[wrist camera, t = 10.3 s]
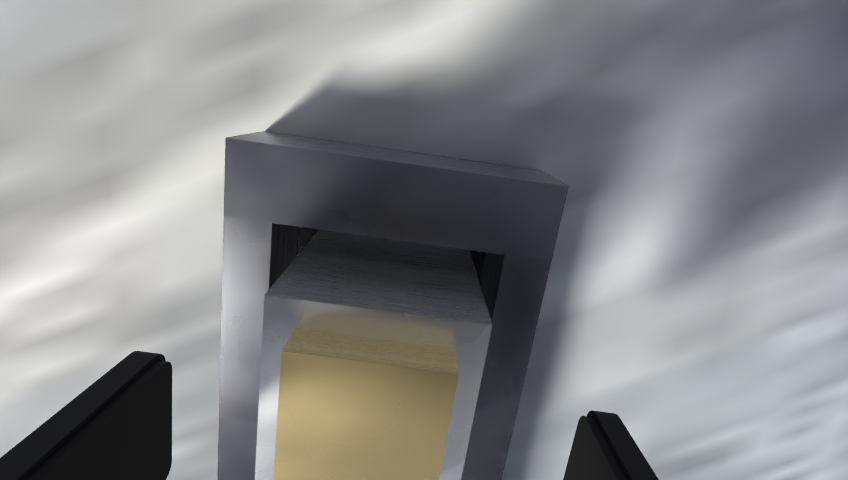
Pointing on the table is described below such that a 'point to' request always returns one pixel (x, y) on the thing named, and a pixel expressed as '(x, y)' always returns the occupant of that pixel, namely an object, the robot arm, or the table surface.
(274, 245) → the dark grey slotted board
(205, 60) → the table surface
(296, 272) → the grey and tan block
